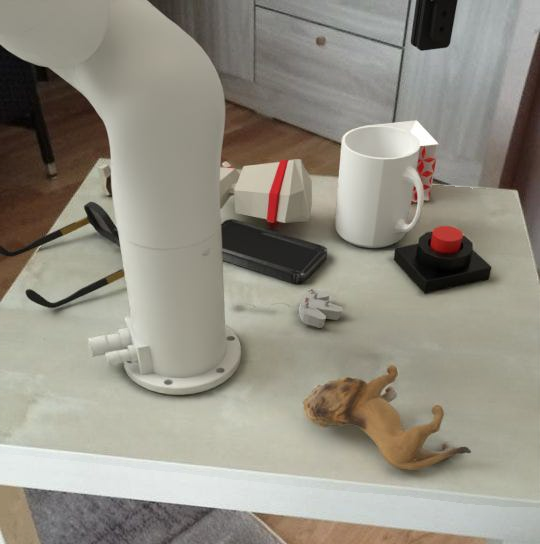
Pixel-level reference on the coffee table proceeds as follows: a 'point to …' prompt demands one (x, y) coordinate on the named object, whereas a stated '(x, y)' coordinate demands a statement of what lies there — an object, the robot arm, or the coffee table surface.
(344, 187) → the mug
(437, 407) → the lion figurine
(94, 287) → the sunglasses
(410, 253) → the button box
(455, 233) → the button
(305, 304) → the game controller
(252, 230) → the phone
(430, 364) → the coffee table surface
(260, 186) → the toy
